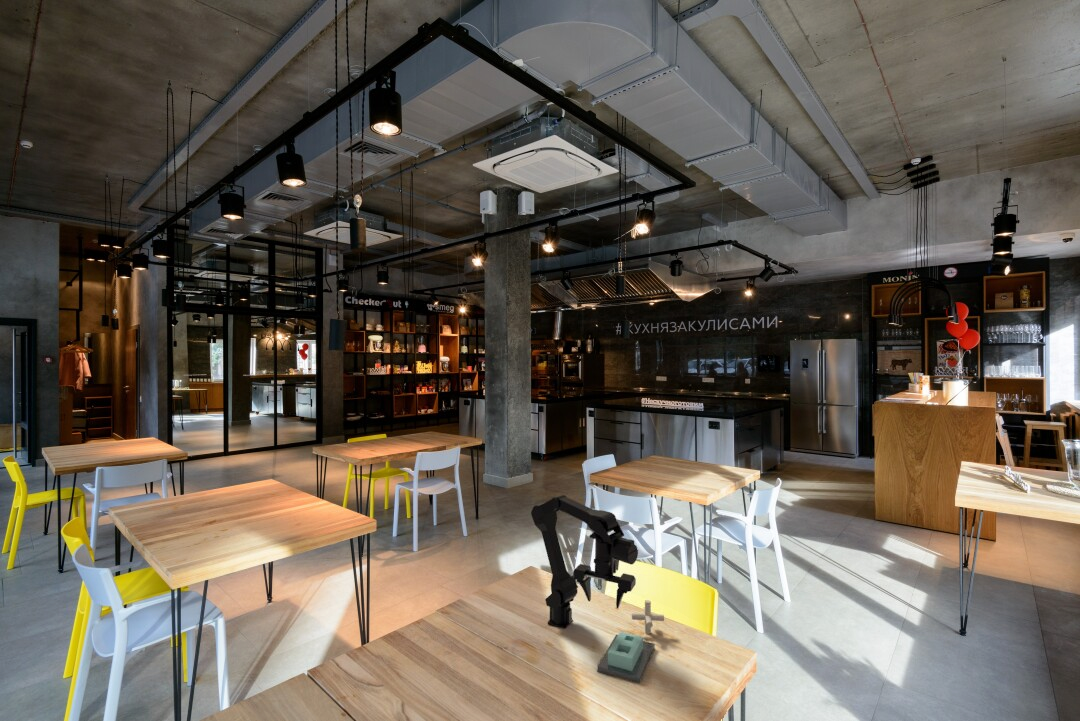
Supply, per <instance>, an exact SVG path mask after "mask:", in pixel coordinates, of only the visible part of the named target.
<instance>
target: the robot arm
mask: <svg viewBox="0 0 1080 721" xmlns="http://www.w3.org/2000/svg"><path fill="white" fill-rule="evenodd" d="M560 511H561V512H563V513H565V514H567V515H569V516H571V517H573V518H575V519H577V520H579V521H581V522H583V523H585V524H586V525H587V527H588V528H589V530H591V531H592V533H591V534H589V536H588V537H589V538H590V539H593V540H594V542H595V544H594V545H595V546H594V548H595V549H594V551H595V553H594V559H593V563H594V570H592V568H591V565H586V564H583V563H580V564H578V565H577V566H576V567H575V568H574V569H573V572H572V575H571V574H570V573H569V572H568V571H567V567H566V564H565V559H564V556H563V551H562V548H561V544H560V541H559V536H558V533H557V530H556V527H557V522H558V514H557V512H560ZM530 513H531V515H530V516H531V517H532V520H533V522H534V526H535V527H536V528H537V529H538V530H539V531H540V533H541V537H542V540H543V544H544V547H545V551H546V555H547V558H548V564H549V566H550V571H551V575H552V576H551V580H550V581H551V582H550V590H551V594H549V595H548V596H547V597H546V598H545V605H546V607H548V608H549V620H548V621H547V625H550V626H554V627H559V628H562V629H566V628H567V627H568V625H570V623H571V622H572V620H573V615H572V614H573V613H572V612H573V610H572V608H571V602H573V601H574V599H575V597H577V594H578V588H579V586H578V583H579V585H580V586H581V589H582V590H583V592H584V595H585V596H586V599H587V601H588V602H591V600H592V591H591V590H592V587H591V586H592V584H591V581H592V579H596V580H600V581H601V580H602V581H605V582H610V583H613V584H614V583H615V584H617V587H618V588H617V589H616V601H615V605H616V606H615V607H616V609H619V608H620V605H621V603H622V599H623V597H624V595H625V594H628V592H632V590H633V589H634V587H635V586H636V585H637V584H636V580H637V578H636V577H635V576H634V575H632V574H628V573H622V574H621V575H620V576H617V575H614V574H616V573H617V571H619V565H620V562H622V563H625V564H628V565H634V564H635V563H636V561H637V559H638V554H639V549H638V547H637V545H636V544H635V540H633V539H630V538H629V539H628V538H625V534H624V532H623V529H622V528H621V526H620V524H619V522H618V519H617V517H616V515H615V514H614V513H613V512H611V511H607V510H601V509H600V510H599V509H593V508H591V507H589V506H586V505H585V504H582V503H580V502H577V501H575V499H572V498H570V497H567V495H565V494H560V495H559V494H558V495H555V496H553V497H552V498H550V499H549V500H547V501H545V502H542V503H539V504H536V505H534V506H533V507H532V509H531V510H530ZM611 532H613V533H611ZM609 533H611V534H609Z"/></svg>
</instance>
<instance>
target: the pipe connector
mask: <svg viewBox="0 0 1080 721" xmlns="http://www.w3.org/2000/svg"><path fill="white" fill-rule="evenodd" d="M651 604H652V602H651V600H648V599H647V600H644V607H643V613H637V612H634V613H633V612H631V620H633V621H635V620H636V621H644V633H645V634H646V635H650V634H651V633H652V632H651V631H652V630H651V629H652V628H653V626H654V625H653V621H656V622H657V621H659V622H664V621H665V615H664V614H658V613H656V614H655V613H652V612H651V611H652V610H651V608H652V607H651V606H652V605H651Z"/></svg>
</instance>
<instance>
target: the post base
mask: <svg viewBox="0 0 1080 721" xmlns="http://www.w3.org/2000/svg"><path fill="white" fill-rule="evenodd" d="M617 636H618V634H615V636H614V638H613V639H612V641H611V642H610V644H609V646H608V648H607V650H606V651H605V653H604V654H603V656H602V657H601V659H600V661H599V662H598V664H597V667H596V668H597V669H596V670H597V673H601V674H604V675H607V676H608V675H609V676H612V677H616V678H619V679H623V680H626V681H629V682H633V683H638V684H640V683H641V682H642V678H643V677H644V674H645V672H646V670H647V667H648V665H649V664H650V660H651V658H652V655H653V653H654V651H655V649H656V648H655V647H656V646H655V645H656V644H655V643H653V642H649V641H645V640H643V650H642V652H641V654H640V656H639V658H638V660H637V662H636V664H635V666H634V668H633V670H632V671H629V670H626V669H622V668H618V667H615V666H611V665H608V651H609V649H610V648H611V646H612V644H613V643H614V641H615V639H616V638H617ZM620 652H623V653H627V654H628V652H627V651H625V650H621V651H620Z"/></svg>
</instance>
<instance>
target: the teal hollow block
mask: <svg viewBox="0 0 1080 721" xmlns="http://www.w3.org/2000/svg"><path fill="white" fill-rule="evenodd" d="M617 635H618V636H617V638H616V639H615V641H614V643H613V644H612V646H611V648H610V649H609V651H608V665H611V666H615V667H618V668H622V669H626V670H629V671H632V670H633V668H634V666H635V664H636V662H637V660H638V658H639V656H640V654H641V652H642V650H643V641H644V637H643V636H641V635H637V634H633V633H632V634H631V633H628V632H624V631H620V632H619V633H618V634H617ZM621 650H625V651H627V652H628V654H627V653H623V652H620V651H621Z"/></svg>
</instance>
